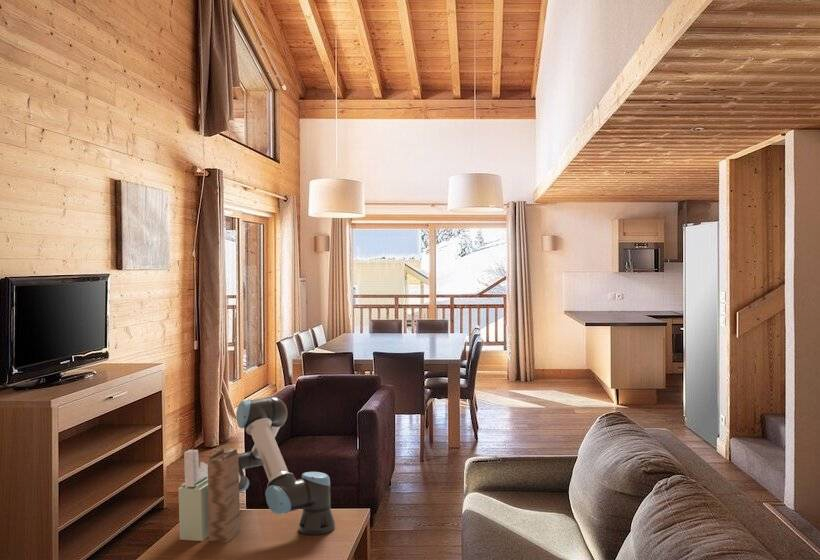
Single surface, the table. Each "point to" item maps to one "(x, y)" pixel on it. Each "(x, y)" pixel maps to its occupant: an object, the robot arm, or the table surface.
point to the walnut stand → (223, 496)
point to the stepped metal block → (194, 469)
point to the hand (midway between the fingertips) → (205, 465)
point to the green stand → (194, 512)
